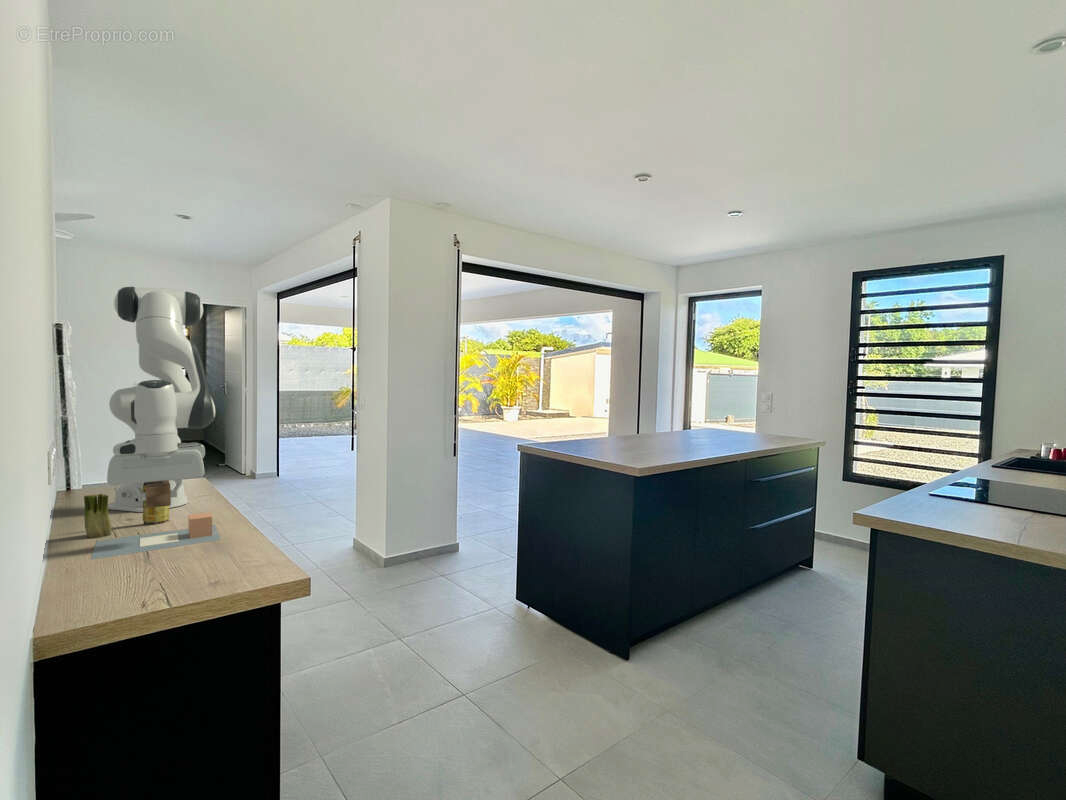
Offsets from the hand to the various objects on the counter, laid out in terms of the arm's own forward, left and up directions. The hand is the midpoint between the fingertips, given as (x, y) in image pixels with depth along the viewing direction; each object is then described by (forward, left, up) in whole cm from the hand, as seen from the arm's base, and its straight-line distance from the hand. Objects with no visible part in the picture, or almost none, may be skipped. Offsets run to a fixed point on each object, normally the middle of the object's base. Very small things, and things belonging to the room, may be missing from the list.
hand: (158, 498), depth 137 cm
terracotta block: (+7, +6, -11) cm, 14 cm away
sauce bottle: (-13, +16, -12) cm, 24 cm away
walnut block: (0, 0, -2) cm, 2 cm away
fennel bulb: (-19, +3, -12) cm, 23 cm away
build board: (0, 0, -12) cm, 12 cm away
